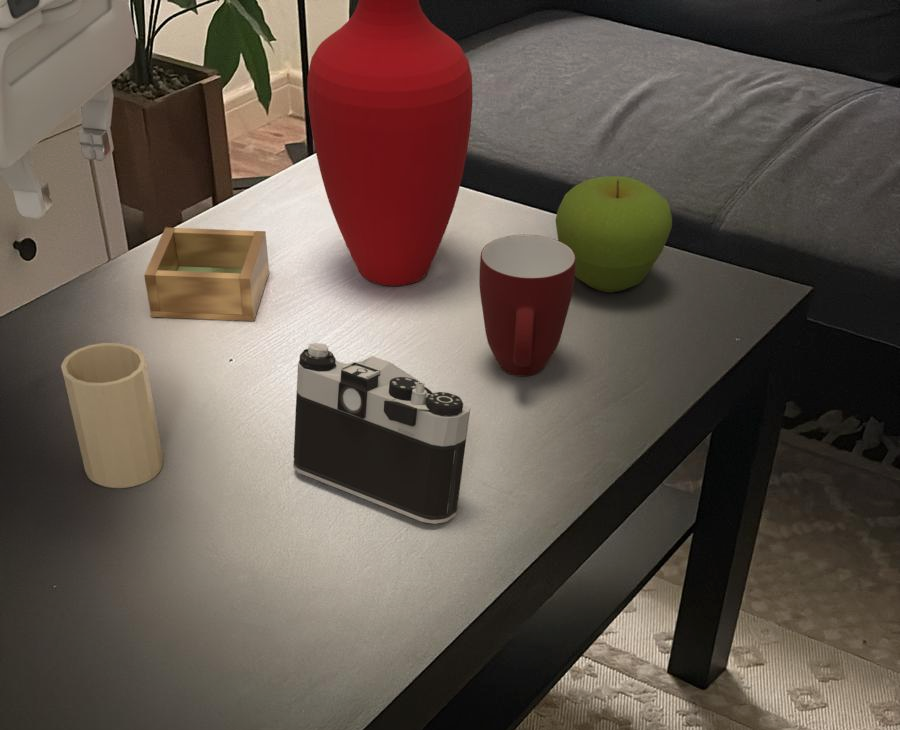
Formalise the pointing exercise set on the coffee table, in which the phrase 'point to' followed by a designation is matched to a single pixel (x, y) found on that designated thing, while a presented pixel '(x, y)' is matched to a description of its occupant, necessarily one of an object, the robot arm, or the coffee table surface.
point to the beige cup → (113, 414)
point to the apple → (613, 230)
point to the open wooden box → (207, 274)
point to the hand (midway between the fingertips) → (68, 184)
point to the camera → (379, 434)
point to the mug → (525, 299)
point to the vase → (390, 135)
